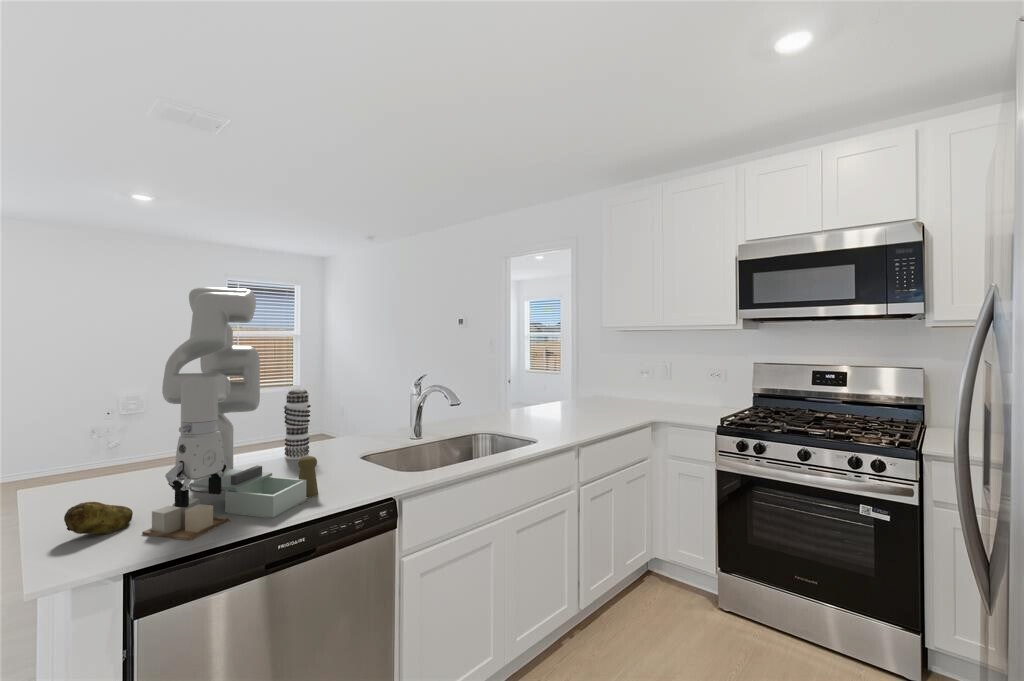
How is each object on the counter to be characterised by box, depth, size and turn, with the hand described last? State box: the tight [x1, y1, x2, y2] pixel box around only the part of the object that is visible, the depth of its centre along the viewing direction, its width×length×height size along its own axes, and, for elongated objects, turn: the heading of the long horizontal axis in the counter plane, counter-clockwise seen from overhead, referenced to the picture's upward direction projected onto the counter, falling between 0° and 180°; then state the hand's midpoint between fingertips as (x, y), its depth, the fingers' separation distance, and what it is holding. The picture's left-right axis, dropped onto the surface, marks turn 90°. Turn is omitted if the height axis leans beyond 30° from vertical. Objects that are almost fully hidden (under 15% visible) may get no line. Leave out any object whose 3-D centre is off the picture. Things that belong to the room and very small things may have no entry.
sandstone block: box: [185, 503, 214, 532], centre depth 120 cm, size 4×4×5 cm
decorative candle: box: [283, 388, 312, 460], centre depth 187 cm, size 9×9×25 cm
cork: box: [297, 455, 319, 498], centre depth 146 cm, size 6×6×11 cm
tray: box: [141, 515, 231, 542], centre depth 120 cm, size 13×12×1 cm
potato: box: [63, 501, 134, 536], centre depth 117 cm, size 8×13×8 cm, turn 138°
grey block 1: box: [151, 505, 181, 533], centre depth 118 cm, size 4×4×5 cm
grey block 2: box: [172, 498, 200, 525], centre depth 124 cm, size 4×4×5 cm
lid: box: [189, 464, 273, 491], centre depth 137 cm, size 14×14×3 cm
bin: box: [224, 476, 307, 519], centre depth 135 cm, size 14×14×6 cm
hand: (198, 500), depth 119 cm, fingers open, 9 cm apart
